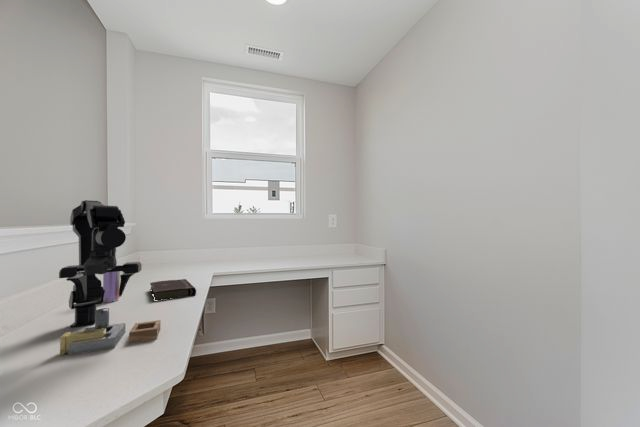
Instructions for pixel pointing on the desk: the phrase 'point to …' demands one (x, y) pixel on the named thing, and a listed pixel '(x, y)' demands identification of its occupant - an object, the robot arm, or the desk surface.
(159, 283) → the diary
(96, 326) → the peg
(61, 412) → the desk surface
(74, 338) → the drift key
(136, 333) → the brown square tray
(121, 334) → the socket
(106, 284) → the beverage can
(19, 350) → the desk surface
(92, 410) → the desk surface
